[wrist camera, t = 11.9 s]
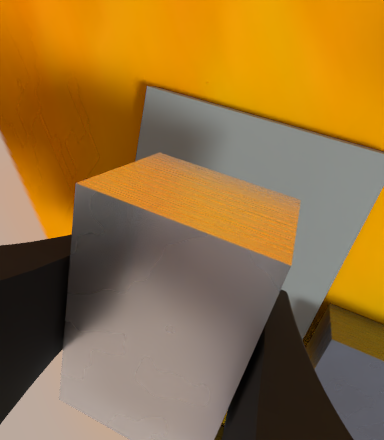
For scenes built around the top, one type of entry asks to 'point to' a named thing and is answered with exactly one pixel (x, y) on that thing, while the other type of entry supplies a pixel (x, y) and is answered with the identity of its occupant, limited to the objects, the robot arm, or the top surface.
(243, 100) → the top surface
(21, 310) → the robot arm
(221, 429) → the steel lever
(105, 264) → the grey rectangular block
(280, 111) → the top surface
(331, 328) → the grey piece
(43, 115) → the top surface
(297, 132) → the rubber mat
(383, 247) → the top surface
